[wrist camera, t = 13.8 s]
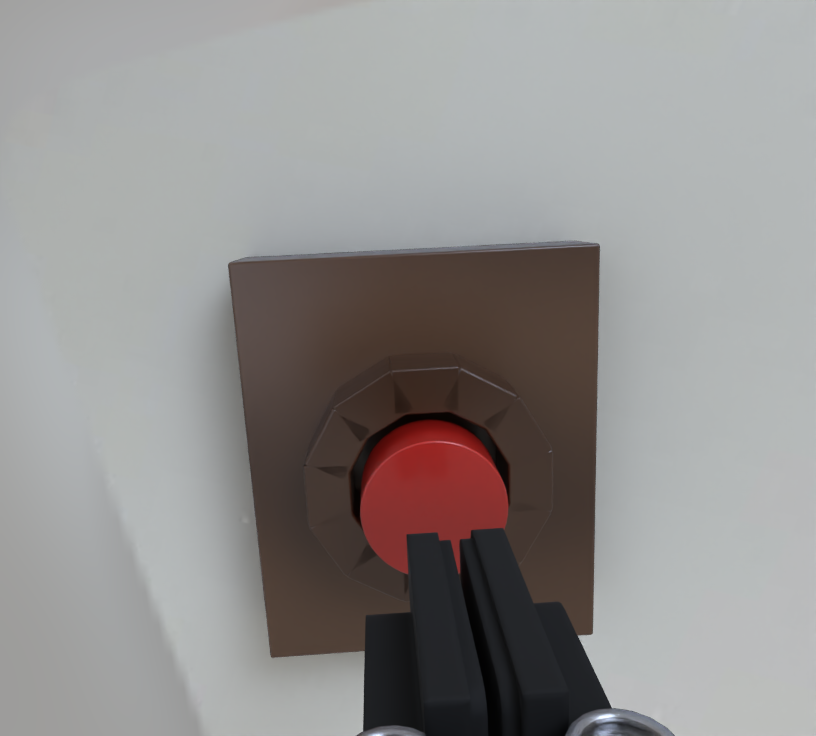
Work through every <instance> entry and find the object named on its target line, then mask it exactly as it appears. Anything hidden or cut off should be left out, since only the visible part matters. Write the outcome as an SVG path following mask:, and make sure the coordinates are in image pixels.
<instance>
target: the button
mask: <svg viewBox="0 0 816 736" xmlns="http://www.w3.org/2000/svg"><path fill="white" fill-rule="evenodd" d="M508 507H509V506H508V496H507V492H506V488H505V485H504V483H503V480H502V478H501V476H500V474H499V472H498V470H497V467H496V465H495V463H494V461H493V459H492V457H491V455H490V453H489V452H488V450H487V448H486V447H485V445H484V444H483V443H482V442H481V441H480V440H479V439H478V438H477V437H476V436H475V435H474V434H473V433H471V432H470V431H469V430H467V429H465V428H463V427H462V426H459V425H457V424H454V423H451V422H448V421H443V420H419V421H414V422H410V423H407V424H405V425H402V426H400V427H398V428H396V429H394V430H392V431H391V432H390V433H388V434H387V435H385V436H384V437H383V438H382V439H381V440H380V441H379V442H378V443H377V444H376V446H375V447H374V448H373V450H372V451H371V453H370V455H369V456H368V459H367V461H366V463H365V466H364V470H363V474H362V483H361V502H360V518H361V525H362V528H363V532H364V534H365V537H366V539H367V541H368V543H369V544H370V546H371V548H372V549H373V550H374V552H375V553H376V554H377V555H378V556H379V557H380V558H381V559H382V560H383V561H384V562H385V563H387V564H388V565H390V566H391V567H393V568H394V569H396V570H398V571H400V572H403V573H405V574H408V558H407V537H406V534H418V533H433V532H438V536H439V541H440V540H451V544H452V548H453V552H454V557H455V561H456V565H457V570H458V574H459V573H460V550H459V543H460V539H469V538H470V535H471V530H477V529H492V528H503V529H505V526H506V523H507V518H508Z"/></svg>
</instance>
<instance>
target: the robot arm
mask: <svg viewBox="0 0 816 736" xmlns="http://www.w3.org/2000/svg"><path fill="white" fill-rule="evenodd" d="M406 537H407V558H408V578H409V597H410V612H404V613H390V614H376V615H366V620H365V669H364V720H363V732H361V733H360V734H358V735H356V736H675V735H674V734H673V733H672V732H671V731H670V730H669V729H668V728H666V727H665V726H663V725H662V724H660V723H658V722H657V721H655V720H654V719H652V718H650V717H648V716H645V715H642V714H639V713H637V712H634V711H629V710H623V709H616V708H612V707H611V705H610V703H609V701H608V699H607V697H606V695H605V693H604V691H603V688H602V686H601V684H600V682H599V680H598V678H597V676H596V674H595V672H594V669H593V667H592V665H591V663H590V661H589V659H588V657H587V655H586V653H585V650H584V648H583V646H582V644H581V642H580V640H579V638H578V636H577V634H576V631H575V629H574V627H573V625H572V623H571V621H570V619H569V617H568V615H567V612H566V610H565V608H564V607H563V605H562V603H560V602H558V601H557V602H543V603H533V600H532V598H531V595H530V593H529V590H528V588H527V586H526V583H525V581H524V578H523V576H522V573H521V571H520V568H519V566H518V563H517V561H516V558H515V556H514V553H513V551H512V548H511V546H510V543H509V541H508V538H507V536H506V533H505V531H504V529H503V528H492V529H477V530H471V535H470V538H469V539H460V543H459V550H460V578H459V574H458V570H457V565H456V561H455V557H454V552H453V548H452V544H451V540H440V541H439V536H438V532H433V533H418V534H406ZM460 582H461V583H460Z"/></svg>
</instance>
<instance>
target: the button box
mask: <svg viewBox="0 0 816 736" xmlns="http://www.w3.org/2000/svg"><path fill="white" fill-rule="evenodd" d="M599 262H600V246H599V244H597V243H589V242H581V241H560V242H540V243H521V244H501V245H481V246H462V247H442V248H422V249H403V250H383V251H363V252H344V253H324V254H305V255H285V256H265V257H246V258H243V259H239V260H236V261H233V262H230V263H229V264H228V268H229V278H230V287H231V296H232V305H233V315H234V324H235V333H236V342H237V351H238V361H239V370H240V379H241V388H242V397H243V407H244V416H245V425H246V434H247V443H248V453H249V462H250V471H251V480H252V489H253V499H254V508H255V517H256V526H257V535H258V545H259V554H260V563H261V572H262V581H263V591H264V600H265V609H266V618H267V627H268V637H269V646H270V655H271V657H273V658H275V657H289V656H303V655H316V654H330V653H344V652H358V651H365V620H366V615H376V614H390V613H404V612H410V597H409V578H408V574H405V573H403V572H400V571H398V570H396V569H394V568H393V567H391V566H390V565H388V564H387V563H385V562H384V561H383V560H382V559H381V558H380V557H379V556H378V555H377V554H376V553H375V552H374V550H373V549H372V548H371V546H370V544H369V543H368V541H367V539H366V537H365V534H364V532H363V528H362V525H361V518H360V502H361V483H362V474H363V470H364V466H365V463H366V461H367V459H368V456H369V455H370V453H371V451H372V450H373V448H374V447H375V446H376V444H377V443H378V442H379V441H380V440H381V439H382V438H383V437H384V436H385V435H387V434H388V433H390V432H391V431H392V430H394V429H396V428H398V427H400V426H402V425H405V424H407V423H410V422H414V421H419V420H443V421H448V422H451V423H454V424H457V425H459V426H462V427H463V428H465V429H467V430H469V431H470V432H471V433H473V434H474V435H475V436H476V437H477V438H478V439H479V440H480V441H481V442H482V443H483V444H484V445H485V447H486V448H487V450H488V452H489V453H490V455H491V457H492V459H493V461H494V463H495V465H496V467H497V470H498V472H499V474H500V476H501V478H502V480H503V483H504V485H505V488H506V492H507V496H508V506H509V507H508V518H507V523H506V526H505V529H504V531H505V533H506V536H507V538H508V541H509V543H510V546H511V548H512V551H513V553H514V556H515V558H516V561H517V563H518V566H519V568H520V571H521V573H522V576H523V578H524V581H525V583H526V586H527V588H528V590H529V593H530V595H531V598H532V600H533V603H543V602H557V601H558V602H560V603H562V605H563V607H564V608H565V610H566V612H567V615H568V617H569V619H570V621H571V623H572V625H573V627H574V629H575V631H576V634H577V635H591V634H592V633H593V597H594V541H595V485H596V429H597V374H598V318H599ZM459 578H460V573H459ZM460 583H461V582H460Z"/></svg>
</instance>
